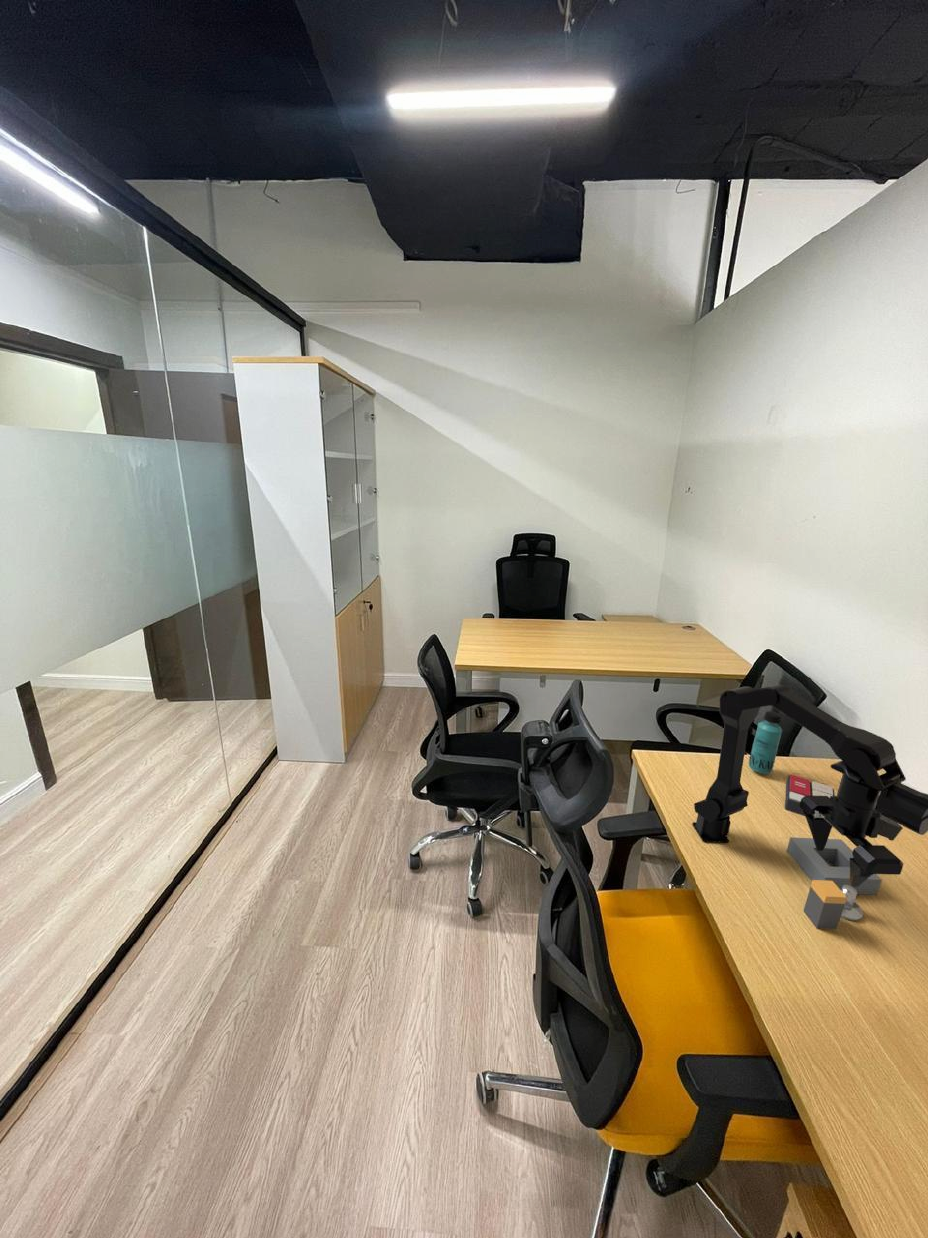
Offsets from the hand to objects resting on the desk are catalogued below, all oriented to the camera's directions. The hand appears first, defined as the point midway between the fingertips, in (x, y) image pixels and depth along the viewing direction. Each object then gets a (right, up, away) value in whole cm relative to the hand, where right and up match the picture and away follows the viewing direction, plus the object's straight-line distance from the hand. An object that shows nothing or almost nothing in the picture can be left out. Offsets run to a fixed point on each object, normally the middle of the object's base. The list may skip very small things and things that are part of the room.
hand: (836, 867), depth 95 cm
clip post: (+6, -11, +5) cm, 14 cm away
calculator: (+22, -3, +39) cm, 45 cm away
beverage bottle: (+17, +2, +52) cm, 55 cm away
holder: (+10, -9, +15) cm, 20 cm away
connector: (-1, -12, +3) cm, 12 cm away
